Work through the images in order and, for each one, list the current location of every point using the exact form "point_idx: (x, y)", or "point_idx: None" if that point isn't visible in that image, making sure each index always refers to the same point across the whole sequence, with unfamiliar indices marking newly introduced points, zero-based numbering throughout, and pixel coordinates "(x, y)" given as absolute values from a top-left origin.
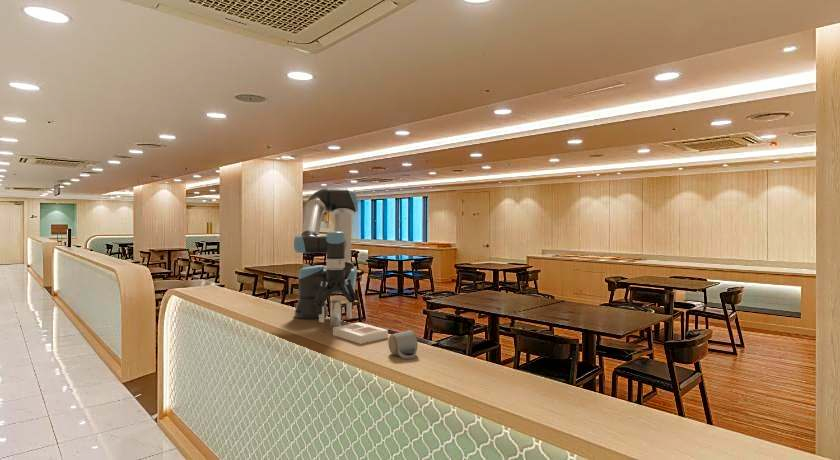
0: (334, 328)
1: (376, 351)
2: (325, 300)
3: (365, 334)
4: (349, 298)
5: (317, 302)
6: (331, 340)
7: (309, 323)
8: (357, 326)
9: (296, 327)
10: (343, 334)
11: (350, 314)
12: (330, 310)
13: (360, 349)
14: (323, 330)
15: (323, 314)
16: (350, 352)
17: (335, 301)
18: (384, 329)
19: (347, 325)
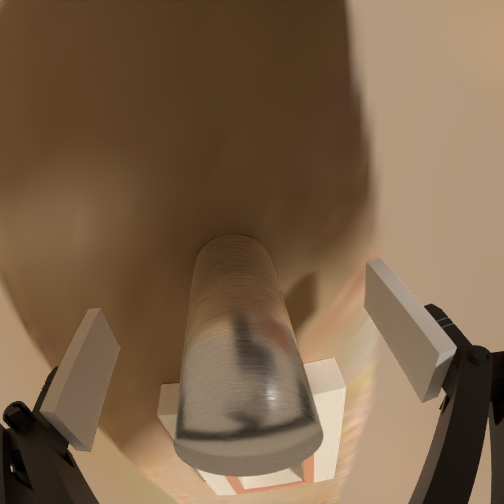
0: (162, 421)
1: (224, 500)
2: (93, 500)
3: (239, 492)
4: (435, 439)
5: (25, 476)
6: (137, 428)
7: (119, 13)
8: None
9: (7, 110)
10: None
11: (377, 323)
12: (181, 364)
13: (196, 489)
14: (136, 282)
15: (99, 395)
16: (164, 490)
17: (261, 434)
18: (329, 474)
19: None
